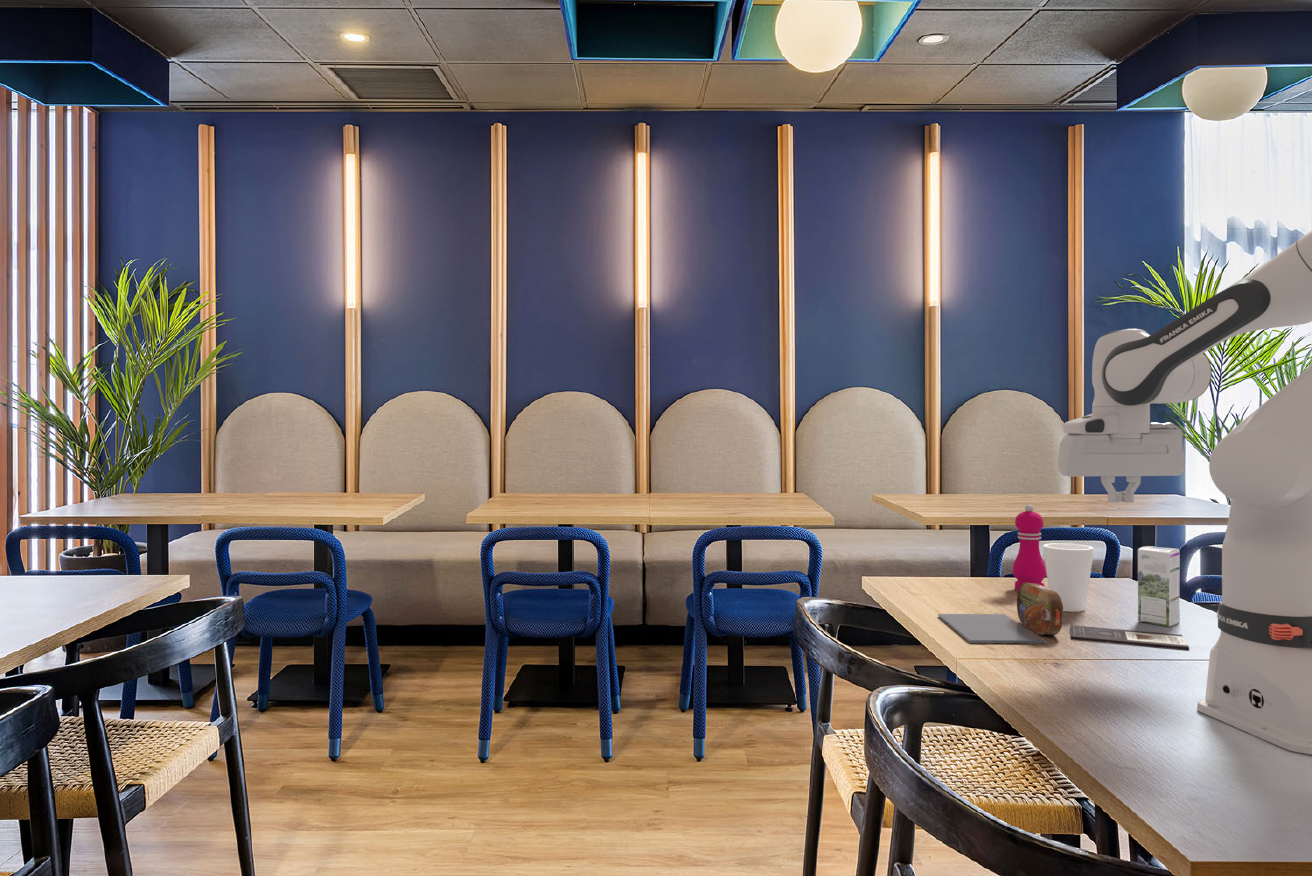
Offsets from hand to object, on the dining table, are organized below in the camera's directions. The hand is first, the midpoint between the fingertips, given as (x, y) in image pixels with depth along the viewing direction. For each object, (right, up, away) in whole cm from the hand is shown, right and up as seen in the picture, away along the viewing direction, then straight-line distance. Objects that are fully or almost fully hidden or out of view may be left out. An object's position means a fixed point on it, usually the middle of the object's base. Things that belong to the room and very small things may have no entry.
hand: (1120, 502), depth 144 cm
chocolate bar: (+4, -26, +4) cm, 26 cm away
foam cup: (+5, -25, +28) cm, 38 cm away
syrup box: (+16, -25, +16) cm, 34 cm away
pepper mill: (+5, -24, +46) cm, 53 cm away
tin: (-9, -25, +11) cm, 29 cm away
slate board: (-19, -25, +12) cm, 33 cm away
